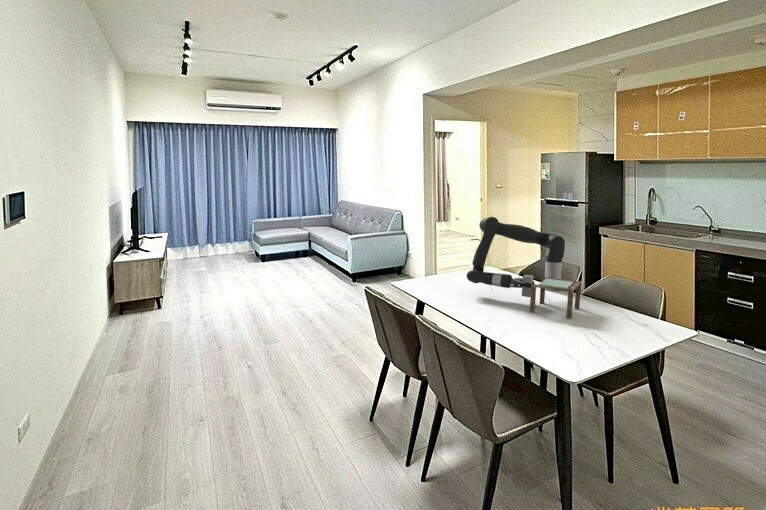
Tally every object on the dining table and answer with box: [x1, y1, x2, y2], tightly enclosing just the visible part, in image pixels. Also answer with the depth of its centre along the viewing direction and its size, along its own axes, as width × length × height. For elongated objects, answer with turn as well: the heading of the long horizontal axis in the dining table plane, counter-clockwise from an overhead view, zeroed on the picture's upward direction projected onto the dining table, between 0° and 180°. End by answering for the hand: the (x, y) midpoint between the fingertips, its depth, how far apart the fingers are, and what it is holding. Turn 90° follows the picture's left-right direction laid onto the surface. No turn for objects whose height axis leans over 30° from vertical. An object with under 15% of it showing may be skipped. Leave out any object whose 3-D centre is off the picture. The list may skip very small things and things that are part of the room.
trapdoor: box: [538, 279, 575, 289], centre depth 237 cm, size 14×15×1 cm
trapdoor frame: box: [529, 276, 582, 320], centre depth 238 cm, size 20×20×14 cm
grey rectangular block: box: [521, 274, 534, 298], centre depth 250 cm, size 4×4×11 cm
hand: (532, 284), depth 248 cm, fingers closed on grey rectangular block, 4 cm apart
